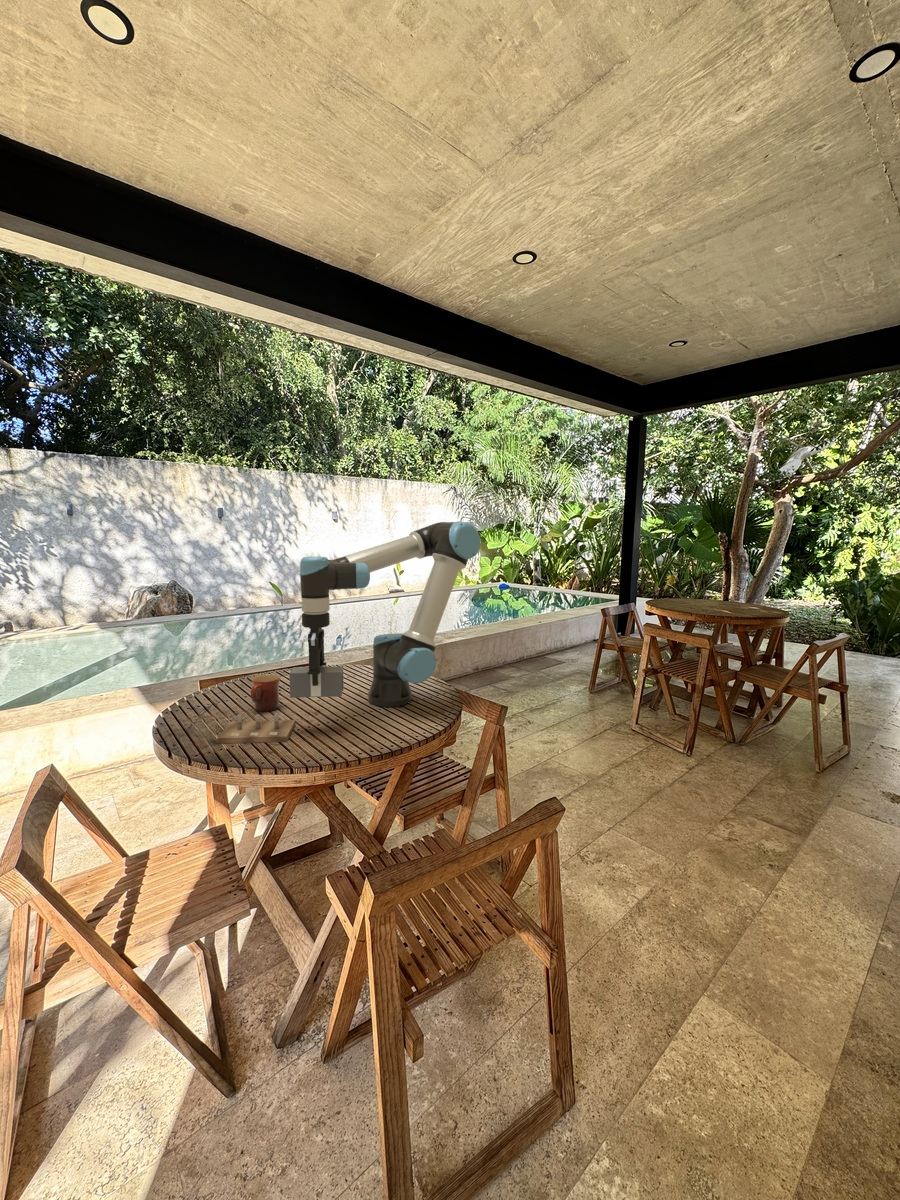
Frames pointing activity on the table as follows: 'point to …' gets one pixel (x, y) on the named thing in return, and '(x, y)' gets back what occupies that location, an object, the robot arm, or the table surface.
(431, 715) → the table surface
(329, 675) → the block
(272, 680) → the mug
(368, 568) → the robot arm
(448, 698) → the table surface
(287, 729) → the board
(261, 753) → the table surface
